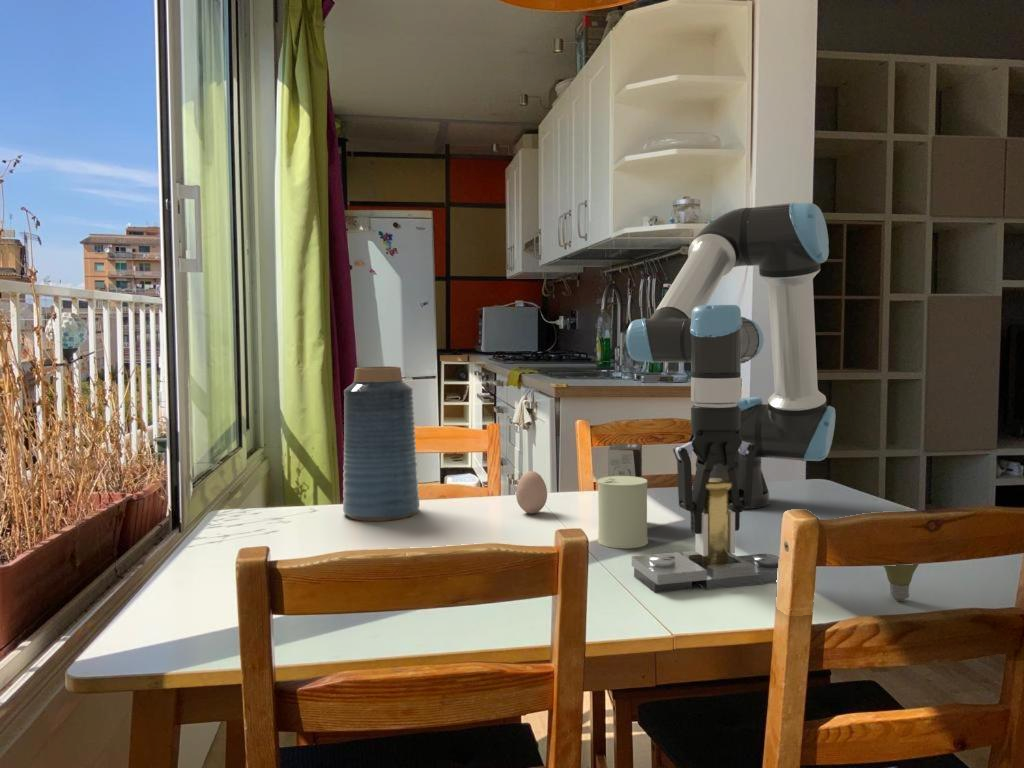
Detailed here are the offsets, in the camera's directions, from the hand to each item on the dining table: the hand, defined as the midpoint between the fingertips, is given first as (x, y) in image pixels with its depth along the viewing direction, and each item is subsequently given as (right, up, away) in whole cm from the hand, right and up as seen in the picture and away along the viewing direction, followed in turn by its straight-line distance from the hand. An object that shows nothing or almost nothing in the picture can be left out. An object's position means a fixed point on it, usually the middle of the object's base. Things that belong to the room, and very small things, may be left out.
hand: (715, 551), depth 128 cm
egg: (-28, -1, +46) cm, 54 cm away
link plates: (0, -4, 0) cm, 4 cm away
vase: (-60, -2, +48) cm, 77 cm away
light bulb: (+24, -5, -11) cm, 27 cm away
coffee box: (-9, -2, +34) cm, 35 cm away
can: (-12, -3, +22) cm, 25 cm away
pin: (0, -3, 0) cm, 3 cm away
